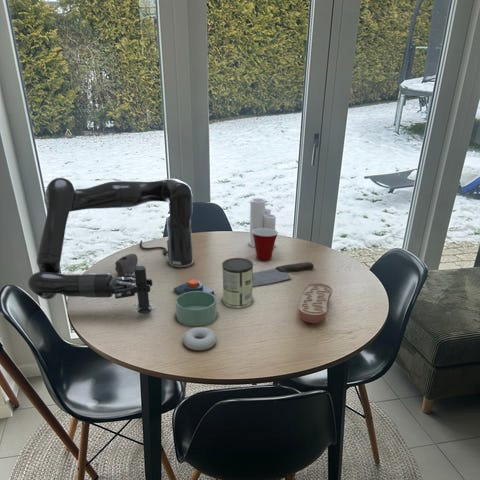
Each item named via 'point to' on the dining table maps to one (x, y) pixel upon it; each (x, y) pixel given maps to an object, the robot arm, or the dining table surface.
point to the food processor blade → (142, 296)
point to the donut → (199, 344)
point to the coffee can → (237, 282)
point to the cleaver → (278, 273)
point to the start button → (193, 283)
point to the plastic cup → (264, 242)
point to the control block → (186, 288)
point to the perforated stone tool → (126, 264)
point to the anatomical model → (314, 302)
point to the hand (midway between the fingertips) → (150, 285)
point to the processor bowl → (196, 308)
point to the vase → (260, 217)
